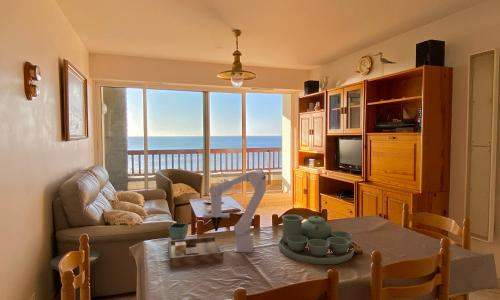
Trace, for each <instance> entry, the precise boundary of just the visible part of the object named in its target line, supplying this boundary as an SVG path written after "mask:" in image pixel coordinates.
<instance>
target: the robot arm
mask: <svg viewBox="0 0 500 300" xmlns="http://www.w3.org/2000/svg"><path fill="white" fill-rule="evenodd" d="M266 181H267V176H266V173H265V171H263V170H262V169H256V170H253V171H249V172H245V173H243V174H241V175H238V176H237V177H234V178H233V179H229V178H225V179H223V180H222V181H220V182H219V181H218V182H216V184H212V185H211V186H209V189H208V192H209V194H210V213H203V214H202V219H210V220H211V222H212V224H213V227H214V232H218V231H219V230H218V229H219V226H220V224H221V221H222V218H230V213H229V212H228V213H227V212H226V213H225V212H222V195H223V193H226V192H227V191H230V190H232V189H233V188H234V186H235V185H238V184H241V183H243V182H246V183H248V182H249V184H250V185H251V186H252V187H253V189H254V191H253V194H252V196H251V198H250V200H249V202H248V204H247V206H246V209H245V210H244V212H243V214H242V216H241V218H240V219H238V222H237V223H235V224H234V226H233V230H234V233H235V248H234V250H233V251H234V253H253V249H254V233H251V232H250V229H251V227H252V221H253V218H254V215H255V213H256V211H257V209H258V207H259V206H260V203H261V201H262V199H263V197H264V196H265V193H266V191H267V183H266Z"/></svg>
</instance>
